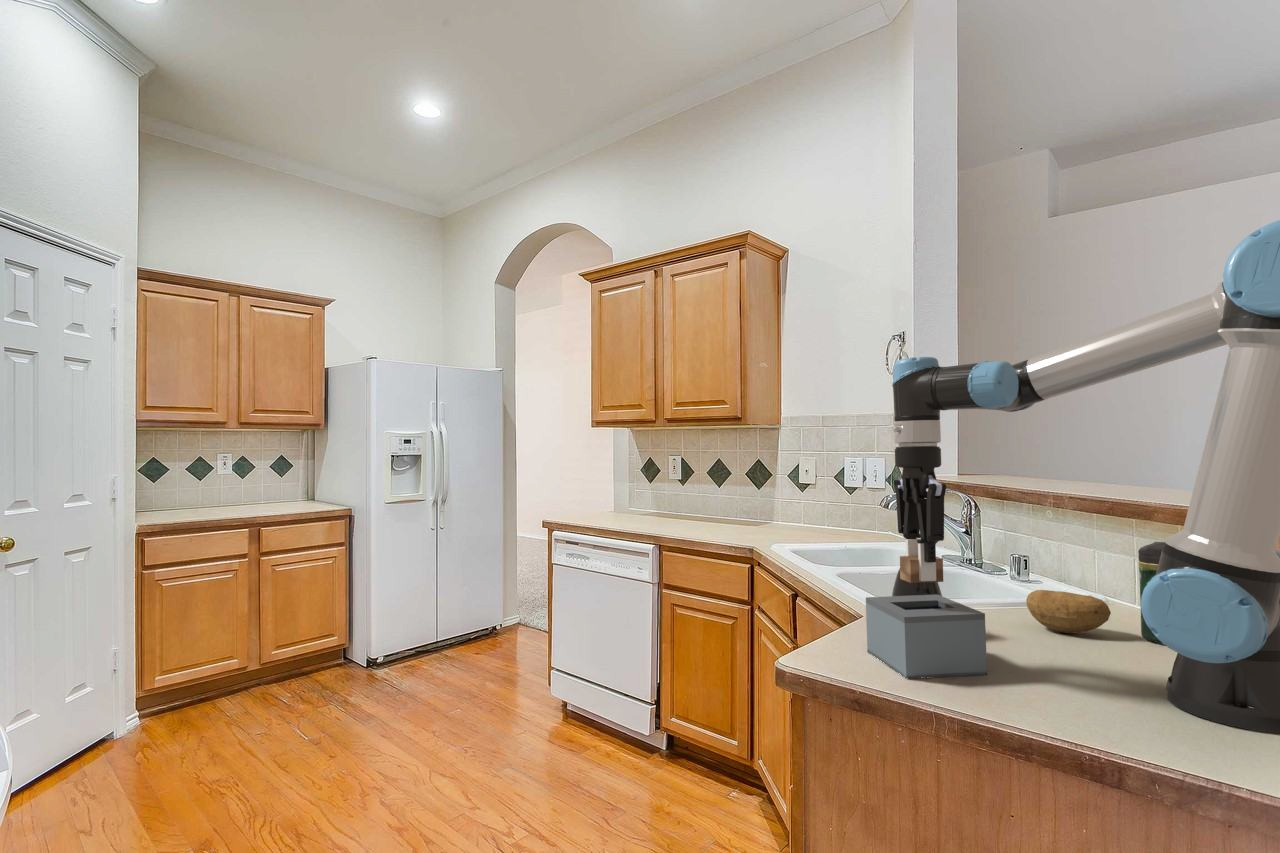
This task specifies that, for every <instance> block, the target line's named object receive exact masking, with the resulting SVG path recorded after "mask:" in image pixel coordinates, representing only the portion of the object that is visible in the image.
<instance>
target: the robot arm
mask: <svg viewBox="0 0 1280 853" xmlns="http://www.w3.org/2000/svg"><path fill="white" fill-rule="evenodd" d="M1222 278H1223V281H1222V282H1219V284H1218V285H1217V286H1216V288H1215V290H1214V291H1213V292H1212V293H1210V294H1206V295H1204V296H1200V297H1198V298H1196V299H1192V300H1190V301H1187V302H1185V303H1184V302H1183V303H1182V304H1179V305H1176V306H1173V307H1170V308H1167V309H1165V310H1161V311H1160V312H1156V313H1153V314H1151V315H1148V316H1145V317H1142V318H1140V319H1137V320H1134V321H1131V322H1128V323H1126V324H1123V325H1120V326H1118V327H1115V328H1112V329H1108V330H1106V331H1104V332H1100V333H1098V334H1095V335H1092V336H1089V337H1086V338H1084V339H1081V340H1078V341H1075V342H1073V343H1069V344H1067V345H1064V346H1061V347H1058V348H1056V349H1053V350H1050V351H1048V352H1045V353H1042V354H1039V355H1036V356H1034V357H1030V358H1029V359H1025V360H1022V361H1020V362H1018V363H1014V364H1011V363H1010V362H1009V361H1005V360H997V361H996V360H995V361H994V360H993V361H990V360H985V361H981V362H973V363H966V364H958V365H952V366H950V365H949V366H940V364H939V360H938V359H937V358H936V357H932V356H918V357H907V358H906V357H905V358H901V359H899V360H897V361H896V362H895V363H894V365H893V370H892V372H893V373H892V383H891V386H892V390H893V391H892V393H893V412H894V413H893V415H894V416H893V417H894V418H893V420H894V427H893V428H892V430H893V432H894V443H895V444H898V446H896V447H895V448H894V464H895V465H894V466H896V467H897V468H900V469H902V471H901V472H902V474H901V479H895V480H893V487H894V490H895V500H896V516H897V517H896V518H897V531H898V533H899V534H902V536H903V538H904V539H905V556H918V559H919V581H936V557H937V554H936V553H937V552H936V551H937V550H936V549H937V548H936V545H937V543H938V542H942V541H944V539H945V495H946V491H947V485H946V483H942V482H941V483H940V482H938V481H937V476H936V472H935V468H940V467H941V466H942V449H941V448H940V446H938V444H940V443H941V441H942V438H941V436H942V435H941V434H942V433H941V432H942V431H941V411H952V410H955V411H956V410H958V411H959V410H988V411H991V410H992V411H1002V412H1008V413H1015V412H1019V411H1024V410H1027V409H1029V408H1031V407H1033V405H1035V404H1037V403H1040V402H1043V401H1046V400H1049V399H1051V398H1055V397H1058V396H1061V395H1065V394H1067V393H1068V394H1069V393H1072V392H1074V391H1078V390H1081V389H1084V388H1085V389H1086V388H1087V387H1091V386H1094V385H1097V384H1101V383H1104V382H1108V381H1111V380H1114V379H1118V378H1121V377H1124V376H1126V375H1130V374H1134V373H1137V372H1140V371H1145V370H1148V369H1150V368H1154V367H1156V366H1161V365H1164V364H1167V363H1171V362H1174V361H1176V360H1181V359H1184V358H1187V357H1190V356H1194V355H1197V354H1200V353H1203V352H1208V351H1210V350H1213V349H1217V348H1220V347H1223V346H1226V345H1228V347H1229V350H1228V352H1227V353H1228V354H1227V358H1226V362H1225V365H1224V369H1223V375H1222V378H1221V381H1220V385H1219V389H1218V393H1217V397H1216V401H1215V403H1214V408H1213V413H1212V416H1211V420H1210V423H1209V428H1208V432H1207V435H1206V438H1205V443H1204V448H1203V451H1202V454H1201V457H1200V458H1201V459H1200V463H1199V466H1198V471H1197V475H1196V478H1195V482H1194V487H1193V490H1192V494H1191V498H1190V502H1189V505H1188V510H1187V513H1186V517H1185V519H1184V520H1185V521H1184V525H1183V528H1182V529H1181V530H1180V531H1179V532H1177V533H1174V534H1172V535H1169V536H1166V537H1165V539H1164V541H1163V542H1164V545H1163V549H1162V553H1161V556H1160V560H1159V564H1158V568H1157V572H1156V575H1155V576H1154V577H1153V578H1152V579H1151V580H1150V581H1149V582H1148V583H1147V586H1146V587H1145V588H1144V590H1143V594H1142V597H1141V604H1140V612H1141V611H1142V615H1143V618H1144V620H1145V622H1146V624H1147V626H1148V627H1149V629H1150V630H1151V631H1152V633H1153V634H1154V635H1155V636H1156V637H1157V638H1158V639H1159V640H1160V641H1161V642H1162V643H1163V644H1165V645H1164V646H1166V647H1167V648H1168V649H1170V650H1171V651H1173V652H1175V653H1177V654H1176V656H1175V659H1174V662H1173V666H1172V669H1171V673H1170V674H1171V675H1169V676H1168V678H1167V680H1166V698H1167V700H1168V701H1169V702H1170V703H1171V704H1172V705H1174V706H1175V707H1177V708H1179V709H1180V710H1182V711H1185V712H1187V713H1189V714H1192V715H1194V716H1196V717H1199V718H1202V719H1204V720H1209V721H1211V722H1212V721H1213V722H1216V723H1219V724H1223V725H1226V726H1227V725H1228V726H1232V727H1235V728H1241V729H1246V730H1252V731H1260V732H1266V733H1275V734H1280V551H1277V550H1275V549H1276V547H1277V544H1278V542H1277V541H1278V538H1279V536H1280V219H1278V220H1276V221H1273V222H1270V223H1268V224H1266V225H1264V226H1261V227H1260V228H1258V229H1256V230H1254V231H1253V232H1251V233H1249V234H1248V235H1246V237H1244V238H1243V239H1242V240H1240V241H1239V243H1238V244H1237V245H1235V247H1234V248H1233V249H1232V251H1231V252H1230V254H1229V256H1228V258H1227V259H1226V262H1225V265H1224V268H1223V274H1222ZM1163 644H1162V645H1163Z"/></svg>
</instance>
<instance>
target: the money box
mask: <svg viewBox="0 0 1280 853" xmlns="http://www.w3.org/2000/svg"><path fill="white" fill-rule="evenodd" d="M865 613H866V614H865V617H866V641H867V642H866V647H867V648H866V649H867V650H866V651H867V653H868V652H869V653H868V654H870V655H871V654H872V655H871V656H873V657H874V656H875V657H876V659H877V658H878V659H879V661H880V660H881V661H882V662H881V661H880V662H881V663H883V662H884V663H885V664H884V663H883V664H884V665H886V664H887V665H888V666H889V667H888V666H887V665H886V666H887V667H888V668H890V667H891V668H892V669H891V668H890V669H891V670H893V669H894V670H895V671H894V670H893V671H894V672H896V673H897V672H898V673H900V674H901V675H902V677H903V676H904V677H905V678H904V677H903V678H904V679H906V678H917V679H922V678H921V677H925V678H924V679H930V677H935V678H947V677H948V678H950V676H953V677H968V676H967V675H969V677H970V676H985V675H986V676H987V675H988V662H987V661H988V660H987V659H988V658H987V634H986V633H987V632H986V613H985V612H982V611H979V610H977V609H974V608H972V607H969V606H967V605H964V604H962V603H960V602H957V601H955V600H952V599H950V598H946V597H944V596H943V595H942V596H940V595H937V594H936V595H912V596H892V595H891V596H889V595H888V596H871V597H869V596H866V597H865ZM875 657H874V658H875ZM878 659H877V660H878ZM898 673H897V674H898ZM900 674H899V675H900ZM901 675H900V676H901ZM927 677H929V678H927Z"/></svg>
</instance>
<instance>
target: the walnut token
mask: <svg viewBox="0 0 1280 853" xmlns="http://www.w3.org/2000/svg"><path fill="white" fill-rule="evenodd" d="M899 569H900V579H902V580H905V581H907V582H910V583H924V582H938V583H944V558H943V557H942V558H941V557H938V556H936V581H919V559H918V556H906V555H899Z"/></svg>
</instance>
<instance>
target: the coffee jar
mask: <svg viewBox="0 0 1280 853" xmlns="http://www.w3.org/2000/svg"><path fill="white" fill-rule="evenodd" d="M1163 545H1164V541H1154V542H1152V543H1149V544H1146V545H1144V546H1141V547H1140V548H1139V549H1138V551H1137V553H1138V576H1139V577H1138V578H1139V597H1140V598H1139V600H1140V603H1139V604H1140V605H1141V597H1142V594H1143V590H1144V588H1145V587H1146V586H1147V583H1148V582H1149V581H1150V580H1151V579H1152V578H1153V577H1154V576H1155V575H1156V572H1157V568H1158V564H1159V560H1160V556H1161V553H1162V549H1163ZM1140 630H1141V637H1142V638H1143V639H1144V640H1146V641H1152V642H1154V643H1157V644H1160V645H1164V646H1166V645H1165V644H1163V643H1162V642H1161V641H1160V640H1159V639H1158V638H1157V637H1156V636H1155V635H1154V634H1153V633H1152V631H1151V630H1150V629H1149V627H1148V626H1147V624H1146V622H1145V620H1144V618H1143V615H1142V611H1141V610H1140Z"/></svg>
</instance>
